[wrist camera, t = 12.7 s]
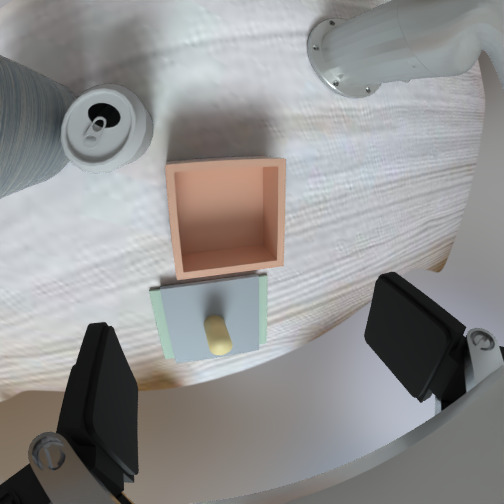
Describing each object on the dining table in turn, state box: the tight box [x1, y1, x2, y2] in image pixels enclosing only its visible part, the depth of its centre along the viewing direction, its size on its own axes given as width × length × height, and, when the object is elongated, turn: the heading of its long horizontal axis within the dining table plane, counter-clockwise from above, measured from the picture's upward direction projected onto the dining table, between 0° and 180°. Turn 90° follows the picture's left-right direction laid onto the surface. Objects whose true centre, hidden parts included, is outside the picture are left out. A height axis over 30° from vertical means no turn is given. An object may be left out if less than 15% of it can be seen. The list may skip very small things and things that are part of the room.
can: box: [61, 84, 153, 174], centre depth 22 cm, size 8×8×12 cm
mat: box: [149, 275, 267, 359], centre depth 39 cm, size 16×12×1 cm
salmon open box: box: [165, 156, 286, 280], centre depth 31 cm, size 12×12×6 cm
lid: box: [160, 274, 259, 363], centre depth 36 cm, size 13×13×6 cm
